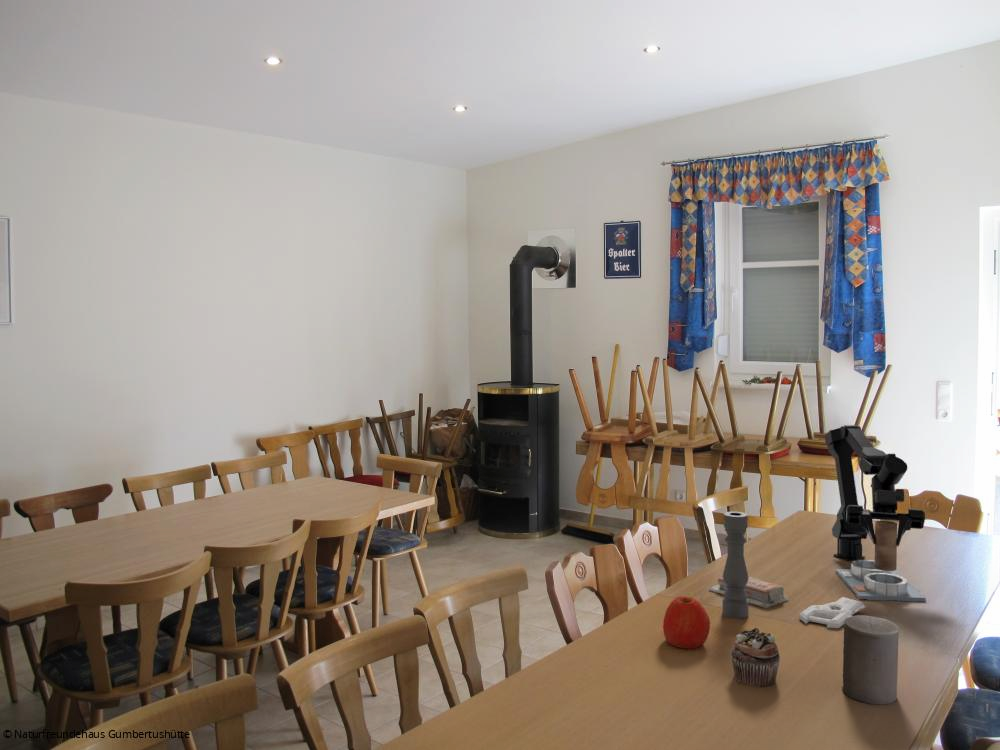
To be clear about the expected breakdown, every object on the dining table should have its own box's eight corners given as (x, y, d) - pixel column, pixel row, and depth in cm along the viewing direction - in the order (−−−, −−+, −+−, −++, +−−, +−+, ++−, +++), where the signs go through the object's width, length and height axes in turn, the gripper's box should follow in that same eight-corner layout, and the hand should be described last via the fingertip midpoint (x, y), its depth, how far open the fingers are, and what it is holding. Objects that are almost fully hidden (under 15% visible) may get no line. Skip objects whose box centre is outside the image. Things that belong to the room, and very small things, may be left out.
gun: (827, 589, 206) (868, 599, 199) (827, 602, 206) (867, 612, 199) (795, 611, 193) (837, 622, 186) (795, 625, 194) (837, 637, 187)
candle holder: (726, 608, 203) (726, 510, 202) (751, 612, 200) (751, 512, 199) (719, 616, 198) (719, 515, 196) (744, 620, 195) (745, 518, 193)
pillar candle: (833, 693, 156) (835, 617, 155) (854, 677, 163) (856, 604, 162) (886, 710, 149) (888, 631, 148) (905, 693, 156) (907, 617, 155)
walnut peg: (870, 566, 213) (870, 521, 212) (884, 563, 215) (884, 519, 215) (886, 572, 209) (887, 526, 208) (900, 569, 211) (901, 523, 210)
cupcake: (788, 678, 163) (789, 629, 162) (764, 693, 156) (765, 643, 156) (745, 664, 170) (746, 617, 169) (721, 678, 163) (721, 630, 163)
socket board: (835, 572, 231) (835, 558, 231) (895, 574, 228) (895, 560, 228) (859, 599, 208) (859, 584, 208) (925, 601, 206) (925, 586, 206)
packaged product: (789, 583, 208) (766, 591, 202) (789, 601, 209) (766, 610, 203) (731, 567, 223) (708, 574, 217) (731, 584, 223) (708, 592, 217)
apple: (714, 639, 184) (714, 594, 183) (701, 655, 175) (701, 608, 174) (671, 631, 189) (671, 587, 188) (656, 646, 180) (656, 600, 179)
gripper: (847, 475, 218) (848, 525, 208) (925, 479, 211) (929, 531, 201) (845, 498, 225) (846, 547, 216) (920, 502, 219) (925, 553, 209)
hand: (886, 544), depth 210 cm, fingers closed on walnut peg, 5 cm apart
